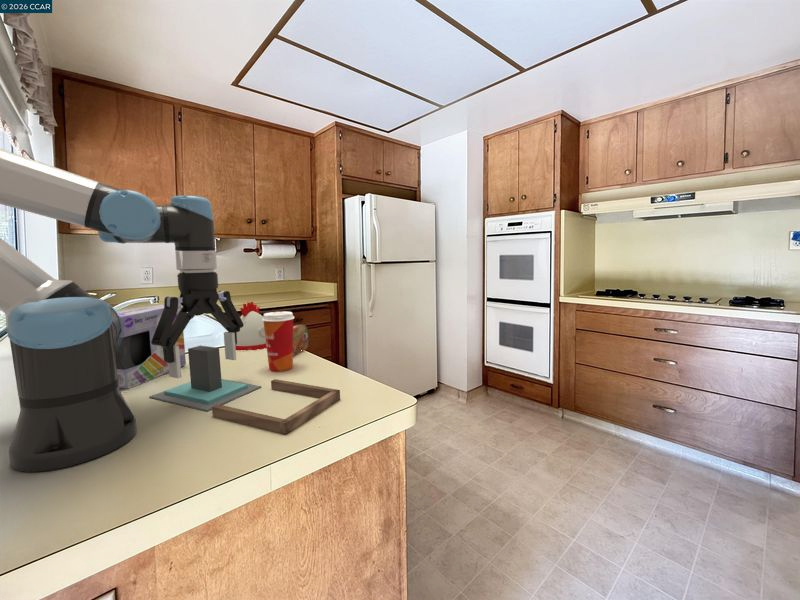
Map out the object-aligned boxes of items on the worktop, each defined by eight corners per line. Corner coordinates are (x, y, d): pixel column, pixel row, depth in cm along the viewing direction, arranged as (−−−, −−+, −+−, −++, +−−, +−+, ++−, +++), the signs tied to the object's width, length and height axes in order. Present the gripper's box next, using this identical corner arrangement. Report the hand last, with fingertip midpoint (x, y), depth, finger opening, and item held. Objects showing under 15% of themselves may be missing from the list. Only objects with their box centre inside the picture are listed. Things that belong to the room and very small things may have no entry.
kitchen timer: (220, 349, 119) (217, 304, 117) (250, 340, 131) (248, 299, 130) (255, 352, 114) (252, 305, 112) (282, 342, 127) (280, 300, 125)
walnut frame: (285, 434, 61) (285, 423, 61) (212, 416, 68) (211, 406, 68) (340, 399, 76) (339, 390, 75) (275, 387, 83) (274, 379, 83)
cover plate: (208, 404, 73) (205, 357, 72) (164, 394, 79) (160, 350, 77) (247, 387, 82) (245, 345, 81) (205, 380, 88) (202, 340, 87)
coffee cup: (264, 365, 100) (261, 312, 98) (295, 362, 103) (293, 310, 101) (265, 374, 92) (261, 316, 90) (298, 370, 95) (295, 314, 93)
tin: (288, 360, 105) (286, 331, 104) (278, 359, 106) (276, 331, 105) (310, 347, 120) (309, 322, 119) (301, 346, 120) (300, 322, 119)
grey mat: (207, 411, 70) (207, 410, 70) (149, 397, 78) (149, 396, 78) (261, 387, 83) (261, 386, 83) (207, 377, 90) (207, 376, 90)
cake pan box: (125, 391, 82) (116, 314, 80) (106, 390, 83) (97, 314, 80) (188, 366, 101) (183, 303, 98) (172, 365, 101) (167, 303, 99)
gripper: (147, 274, 64) (158, 389, 67) (255, 269, 87) (260, 354, 89) (122, 274, 67) (134, 383, 70) (233, 269, 90) (238, 351, 93)
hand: (205, 367), depth 80 cm, fingers open, 13 cm apart
